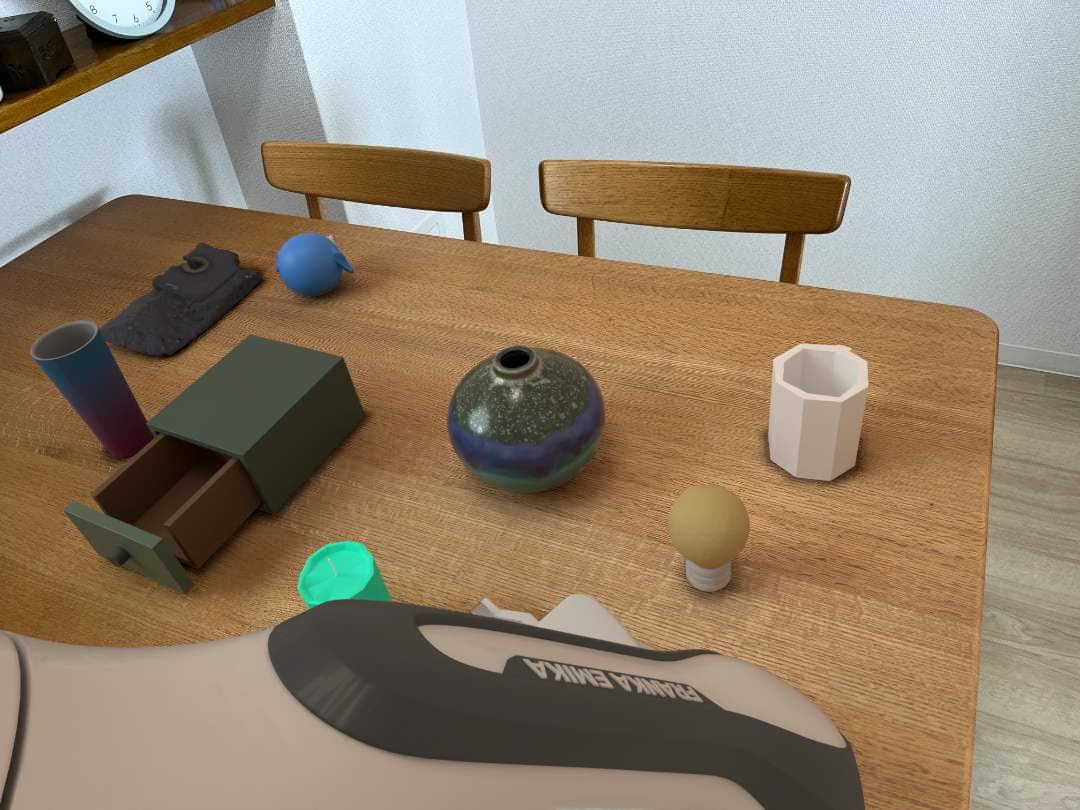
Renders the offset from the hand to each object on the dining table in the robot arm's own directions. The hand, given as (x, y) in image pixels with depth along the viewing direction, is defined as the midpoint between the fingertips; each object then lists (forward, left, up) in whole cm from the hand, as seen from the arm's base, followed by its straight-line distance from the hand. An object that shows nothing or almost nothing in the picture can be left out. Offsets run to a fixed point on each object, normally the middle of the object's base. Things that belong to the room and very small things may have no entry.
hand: (423, 655), depth 53 cm
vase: (+2, +30, -13) cm, 32 cm away
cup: (-46, +33, -13) cm, 58 cm away
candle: (-9, +8, -13) cm, 18 cm away
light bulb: (+19, +16, -13) cm, 27 cm away
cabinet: (-28, +32, -12) cm, 44 cm away
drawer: (-32, +20, -12) cm, 40 cm away
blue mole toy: (-33, +65, -13) cm, 74 cm away
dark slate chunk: (-53, +60, -13) cm, 81 cm away
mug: (+30, +33, -13) cm, 46 cm away
